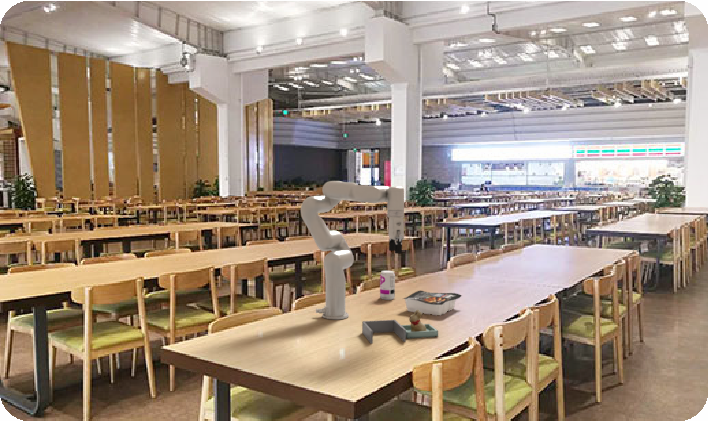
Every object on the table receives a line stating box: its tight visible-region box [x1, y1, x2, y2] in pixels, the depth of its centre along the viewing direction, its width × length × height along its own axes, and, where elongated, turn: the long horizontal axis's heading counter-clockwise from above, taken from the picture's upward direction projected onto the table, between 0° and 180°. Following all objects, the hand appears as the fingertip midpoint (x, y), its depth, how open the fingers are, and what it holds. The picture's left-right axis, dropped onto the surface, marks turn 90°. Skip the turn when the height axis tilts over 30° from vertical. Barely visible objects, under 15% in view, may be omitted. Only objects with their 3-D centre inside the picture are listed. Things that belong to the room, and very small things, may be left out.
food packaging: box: [403, 290, 463, 316], centre depth 283 cm, size 25×8×23 cm
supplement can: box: [379, 270, 396, 301], centre depth 310 cm, size 8×8×15 cm
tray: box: [400, 323, 439, 339], centre depth 240 cm, size 14×12×2 cm
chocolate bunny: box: [408, 310, 427, 332], centre depth 240 cm, size 6×8×10 cm
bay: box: [361, 319, 407, 345], centre depth 235 cm, size 15×16×5 cm
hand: (395, 252), depth 252 cm, fingers open, 9 cm apart
